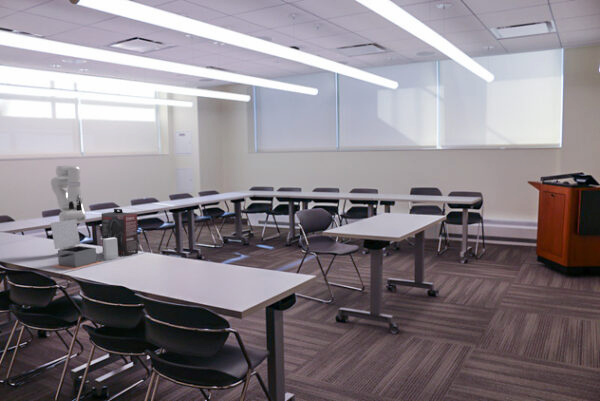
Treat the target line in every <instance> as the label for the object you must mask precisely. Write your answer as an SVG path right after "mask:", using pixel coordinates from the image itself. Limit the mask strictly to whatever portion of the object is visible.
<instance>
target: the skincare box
mask: <svg viewBox="0 0 600 401" xmlns="http://www.w3.org/2000/svg"><path fill="white" fill-rule="evenodd" d="M103 250H104V253H103V260H105V261H108V260H116V259H119V255H118V246H117V238H115V237H112V238H105V239H103V244H102V251H103Z"/></svg>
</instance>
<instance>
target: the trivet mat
mask: <svg viewBox="0 0 600 401" xmlns="http://www.w3.org/2000/svg"><path fill="white" fill-rule="evenodd" d="M101 263H103V261H100V260H96V263H94V264H90V265H86V266H82V267H78V268H72V267H66V266H59V263H58V264H55V265H51V266H50V267H51V268H52V267H53V268H58V269H64V270H71V271H75V270H79V269H81V268H82V269H83V268H86V267H87V268H88V267H91V266H94V265H98V264H101Z"/></svg>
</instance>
